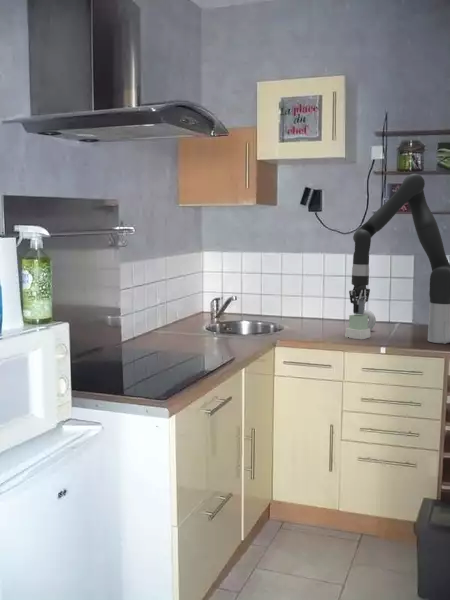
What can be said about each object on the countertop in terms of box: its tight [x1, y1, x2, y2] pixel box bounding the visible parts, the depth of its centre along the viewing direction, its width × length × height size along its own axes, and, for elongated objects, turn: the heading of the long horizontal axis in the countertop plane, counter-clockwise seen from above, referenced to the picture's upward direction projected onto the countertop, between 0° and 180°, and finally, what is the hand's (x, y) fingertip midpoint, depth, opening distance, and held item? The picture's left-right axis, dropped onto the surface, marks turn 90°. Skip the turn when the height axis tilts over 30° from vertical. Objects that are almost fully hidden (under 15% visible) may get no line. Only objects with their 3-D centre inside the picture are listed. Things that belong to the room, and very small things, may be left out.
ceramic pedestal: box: [344, 327, 372, 340], centre depth 295 cm, size 8×8×4 cm
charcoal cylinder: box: [352, 299, 365, 315], centre depth 293 cm, size 5×5×6 cm
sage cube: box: [348, 313, 369, 330], centre depth 294 cm, size 6×6×6 cm
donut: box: [361, 309, 377, 330], centre depth 312 cm, size 10×4×10 cm, turn 46°
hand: (358, 311), depth 294 cm, fingers closed on charcoal cylinder, 4 cm apart
